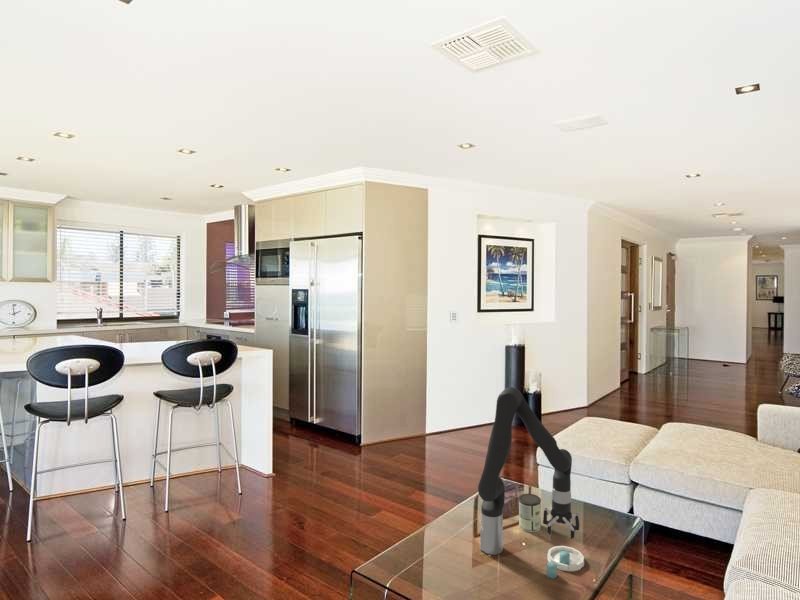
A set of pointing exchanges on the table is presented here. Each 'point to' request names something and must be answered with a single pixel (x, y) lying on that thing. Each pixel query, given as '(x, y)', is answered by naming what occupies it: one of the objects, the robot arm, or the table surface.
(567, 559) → the bead
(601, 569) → the table surface
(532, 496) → the coffee can
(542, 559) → the table surface
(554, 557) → the ring tray
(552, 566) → the bead
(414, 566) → the table surface
